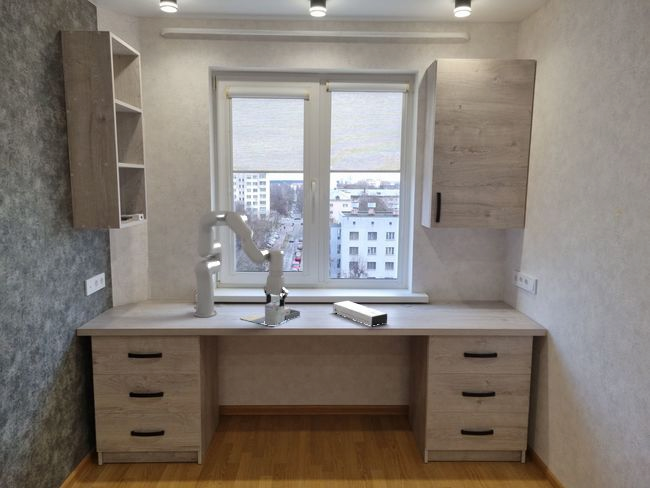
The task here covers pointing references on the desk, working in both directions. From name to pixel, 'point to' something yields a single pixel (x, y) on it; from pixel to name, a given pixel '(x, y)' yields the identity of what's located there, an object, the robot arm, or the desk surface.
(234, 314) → the desk surface
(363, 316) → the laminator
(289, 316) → the dice tray
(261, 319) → the track mat
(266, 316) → the light bulb box
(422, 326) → the desk surface
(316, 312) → the desk surface
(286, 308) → the die
